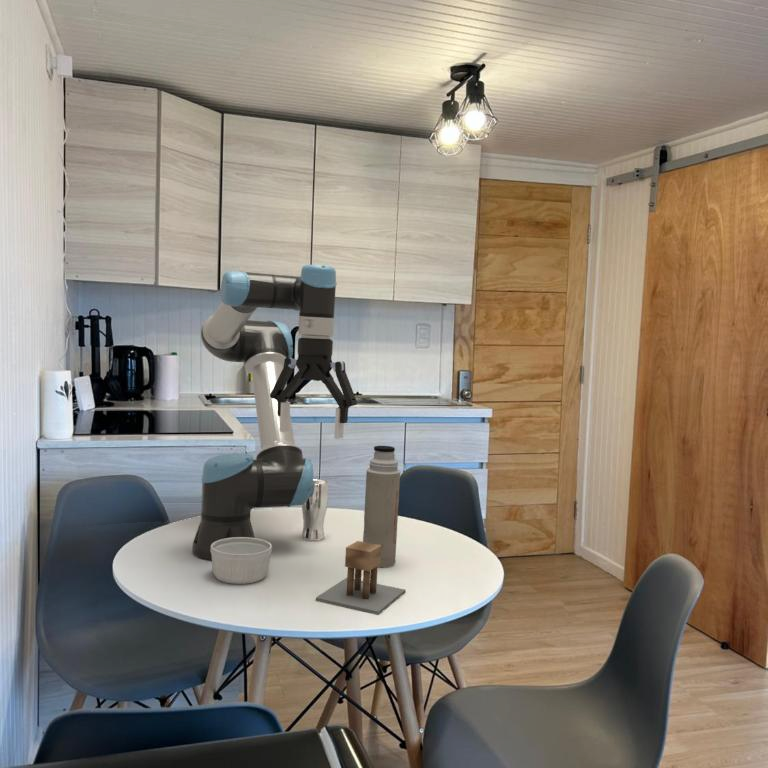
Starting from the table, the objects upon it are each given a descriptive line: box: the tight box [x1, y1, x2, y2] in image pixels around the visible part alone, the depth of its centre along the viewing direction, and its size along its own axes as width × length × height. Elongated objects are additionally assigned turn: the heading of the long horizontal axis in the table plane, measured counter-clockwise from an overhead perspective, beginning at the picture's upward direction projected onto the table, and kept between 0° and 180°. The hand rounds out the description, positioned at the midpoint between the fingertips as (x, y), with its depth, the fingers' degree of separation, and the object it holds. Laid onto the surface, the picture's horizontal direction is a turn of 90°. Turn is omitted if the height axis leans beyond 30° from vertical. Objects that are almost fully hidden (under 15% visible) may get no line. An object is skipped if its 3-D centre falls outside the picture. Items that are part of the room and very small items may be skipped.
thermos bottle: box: [362, 445, 401, 568], centre depth 170 cm, size 8×8×28 cm
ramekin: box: [210, 537, 273, 585], centre depth 157 cm, size 13×13×7 cm
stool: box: [344, 540, 381, 599], centre depth 148 cm, size 6×6×10 cm
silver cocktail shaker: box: [300, 478, 329, 542], centre depth 188 cm, size 7×7×15 cm
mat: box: [315, 577, 406, 615], centre depth 148 cm, size 14×14×1 cm
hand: (311, 434), depth 156 cm, fingers open, 13 cm apart
